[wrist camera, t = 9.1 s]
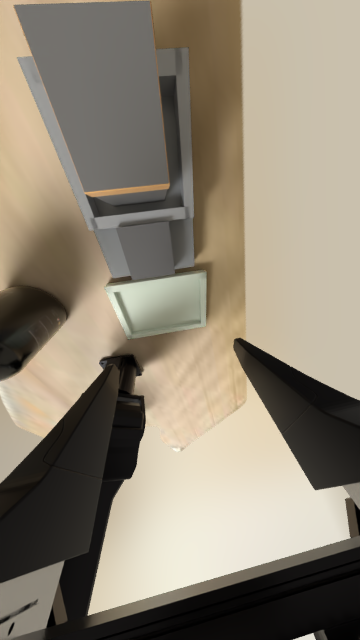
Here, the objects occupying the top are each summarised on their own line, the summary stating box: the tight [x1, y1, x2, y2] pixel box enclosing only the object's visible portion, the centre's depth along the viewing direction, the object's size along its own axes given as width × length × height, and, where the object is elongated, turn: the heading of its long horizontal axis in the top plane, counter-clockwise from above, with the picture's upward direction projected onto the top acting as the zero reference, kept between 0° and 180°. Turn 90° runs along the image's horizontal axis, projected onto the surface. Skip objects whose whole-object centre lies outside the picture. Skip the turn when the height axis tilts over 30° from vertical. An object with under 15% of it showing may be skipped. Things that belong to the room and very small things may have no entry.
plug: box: [13, 1, 170, 206], centre depth 8 cm, size 5×5×6 cm
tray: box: [104, 270, 207, 340], centre depth 20 cm, size 9×13×1 cm
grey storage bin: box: [17, 47, 194, 280], centre depth 12 cm, size 12×10×4 cm
